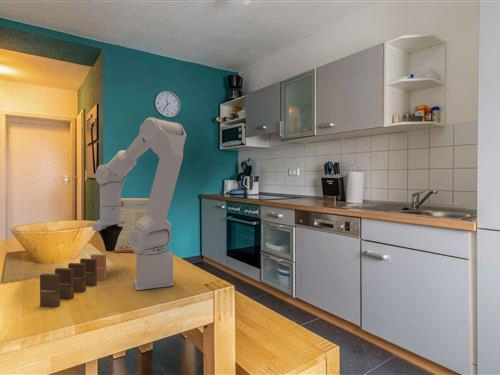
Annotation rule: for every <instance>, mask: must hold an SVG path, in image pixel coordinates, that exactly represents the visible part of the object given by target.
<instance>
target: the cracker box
mask: <svg viewBox="0 0 500 375" xmlns="http://www.w3.org/2000/svg"><path fill="white" fill-rule="evenodd" d="M148 202H149V198H140V197H139V198H138V197H137V198H134V197H132V198H131V197H130V198H129V197H126V198H125V197H124V198H123V197H121V217H123V218H126V223H125V224H120V225H118V226H122V227H123V229H122V231H121V233H120V235H119V237H118V240H117V244H116V247H115V251H112V253H132V254H133V253H134V251H133V250H132V248H131V247H130V244H129V236H130V233H131V232H132V230H133V229H134V227H135V223H136V222H137V221H138V220H140V219H141V218H142V217H143V216H144V215H145V213H146V209H147V205H148ZM134 254H135V253H134Z"/></svg>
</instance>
